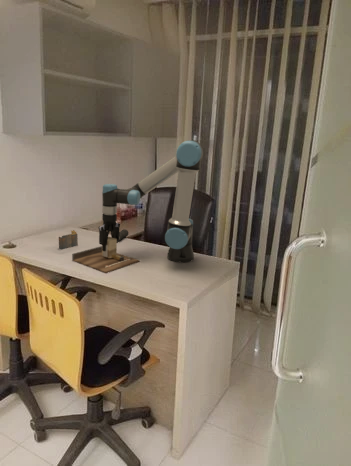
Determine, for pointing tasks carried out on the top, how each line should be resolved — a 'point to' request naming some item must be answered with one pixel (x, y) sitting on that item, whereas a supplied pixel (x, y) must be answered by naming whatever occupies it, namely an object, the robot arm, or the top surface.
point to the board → (101, 260)
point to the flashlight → (123, 234)
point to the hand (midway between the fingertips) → (109, 255)
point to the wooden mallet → (113, 249)
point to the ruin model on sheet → (68, 241)
